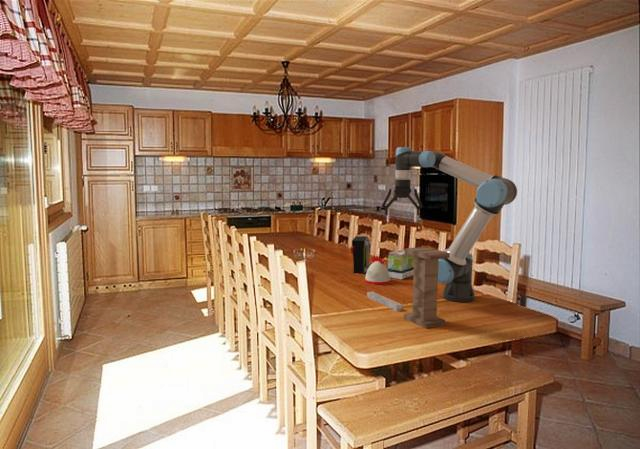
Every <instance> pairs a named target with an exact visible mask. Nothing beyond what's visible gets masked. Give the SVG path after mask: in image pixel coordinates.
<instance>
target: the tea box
mask: <svg viewBox="0 0 640 449" xmlns="http://www.w3.org/2000/svg"><path fill="white" fill-rule="evenodd" d="M387 260H388V261H387V269H388V272H389V275H390V279H391V278H392V279H397V280H398V279H399V280H403V279H405V278H410V277H412V276H413V277H414V256H413V255H409V254H405V249H398V250H397V249H396V250H394V251H389V252H388V258H387Z"/></svg>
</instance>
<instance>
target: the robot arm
mask: <svg viewBox="0 0 640 449" xmlns="http://www.w3.org/2000/svg"><path fill="white" fill-rule="evenodd" d="M394 157H395V172H394V173H395V174H394V175H395V176H394V178H395V180H394V189H393V188H388V190H387V194H386V196H385V198H384V200H383V202H382V204H381V207H382V208H383V209H384V215H385V216H386V223H389V222H390V206H391V205H392V204H393V203H394V201H396V200H397V199H402V198H403V199H407V198H408V200H409V201H410V202H411V203H412V205H413V206H414V207H415V208H414V219H413V221H414V223H417V221H418V216H419V215H420V209H423V208H424V205H423V203H422V201H421V199H420V196H419V194H418V190H417V188H413V189H411V182H412V181H411V178H412V177H411V176H412V168H434V169H436V170H438V171H441V172H443V173H445V174H447V175H449V176H452V177H454V178H456V179H458V180H460V181H463V182H465V183H467V184H469V185H471V186H473V187H475V188H477V189H476V193H475V195H476V197H475V199H474V200H473V204H474V207H473V208H472V209H471V212H470V213H469V215H468V216H467V218H466V220H465V222H464V223H463V224H462V226H461V228H460V229H459V231H458V233H457V234H456V235H455V238H454V240H453V241H452V243H451V244H450V246H449V247H448V248H446V249H443V251H444V252H448V253H450V256H449V258H443V259H439V265H438V284H443V285H444V284H445V286H444V289H443V292H442V298H443V299H444V300H447V301H451V302H455V303H469V302H473V301H475V300H476V299H475V297H476V295H475V291H474V288H473V284H472V283H473V282H472V281H473V280H472V279H473V265H474V264H473V263H474V260H473V259H474V258H473V254H472V253H470V252H471V250H472V248H474V246H475V244H476V243H477V241H478V239H479V238H480V236H481V235H482V233H483V232H484V230H485V229H486V227H487V226H488V224H489V223H490V221H491V219H492V218H493V217H494V216H498V215H499V214H500V212H501V210H502V209H503V208H504V206H505V205H509V204H512V203H513V202H514V201H515V199H516V197H517V196H518V187H517V185H516V183H515V182H514V181H512V180H511V179H508V178H505V177H502V176H499V175H497V174H493V175H491V174H489V173H487V172H485V171H483V170H481V169H477V168H476V167H472V166H471V165H469V164H466V163H463V162H461V161H459V160H457V159H454V158H452V157H451V156H450V157H449V156H447V155H445V153H443V152H441V151H431V150H418V151H417V150H416V151H413V150H412V147H410V146H409V147H408V146H405V147H404V146H401V147H399V146H398V147H397V148H396V149H395V156H394ZM393 192H394V194H395V195H394V196H393V197H392V198H391V199H390V200H389V198H390V197H391V194H393ZM411 193H412V194H413V195H414V197H415V200H416V201H417V202H416V201H415V200H414V198H413V197H412V196H411V195H410V194H411ZM388 200H389V201H388ZM387 202H388V203H387ZM417 203H418V204H417Z"/></svg>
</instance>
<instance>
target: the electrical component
mask: <svg viewBox="0 0 640 449" xmlns="http://www.w3.org/2000/svg"><path fill="white" fill-rule="evenodd" d="M370 242H371V238H369V236H364V235H363V236H361V235H360V236H358V235H357V236H355V237H354V238H353V239H351V246H350V253H351V254H352V259H353V261H352V262H353V274H356V273H358V275H359V274H360V275H361V274H362V275H364V274H366V273H367V270H368V268H369V267H370V265H371V264H370Z"/></svg>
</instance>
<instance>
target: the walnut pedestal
mask: <svg viewBox="0 0 640 449" xmlns="http://www.w3.org/2000/svg"><path fill="white" fill-rule="evenodd" d="M404 250H405V254H409V255H413V256H414V275H413V279H412V280H413V283H412V285H413V286H412V310H411V311H412V312H408V313H403V319H405V320H407V321H409V322H410V323H413V324H416V325H418V326H420V327H422V328H424V329H430V328H433V327H434V328H436V327H440V326H445V325H446V319H444V318H441V317H439V316H437V313H438V311H437V310H438V290H439V286H438V284H439V282H438V265H439V259H443V258H449V256H450V253H448V252H444V250H439V249H435V248H430V247H425V246H419V247H409V248H408V247H407V248H404Z"/></svg>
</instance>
